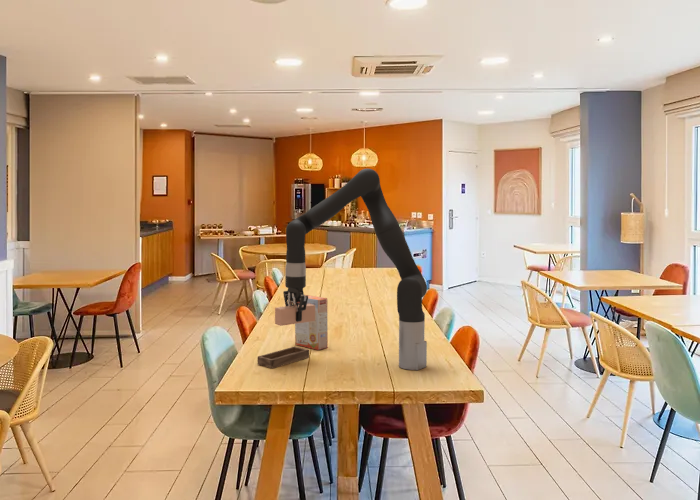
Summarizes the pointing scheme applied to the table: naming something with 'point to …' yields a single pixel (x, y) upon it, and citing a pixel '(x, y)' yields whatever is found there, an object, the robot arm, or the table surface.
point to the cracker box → (314, 326)
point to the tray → (283, 357)
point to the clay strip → (293, 315)
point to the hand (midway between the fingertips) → (295, 319)
